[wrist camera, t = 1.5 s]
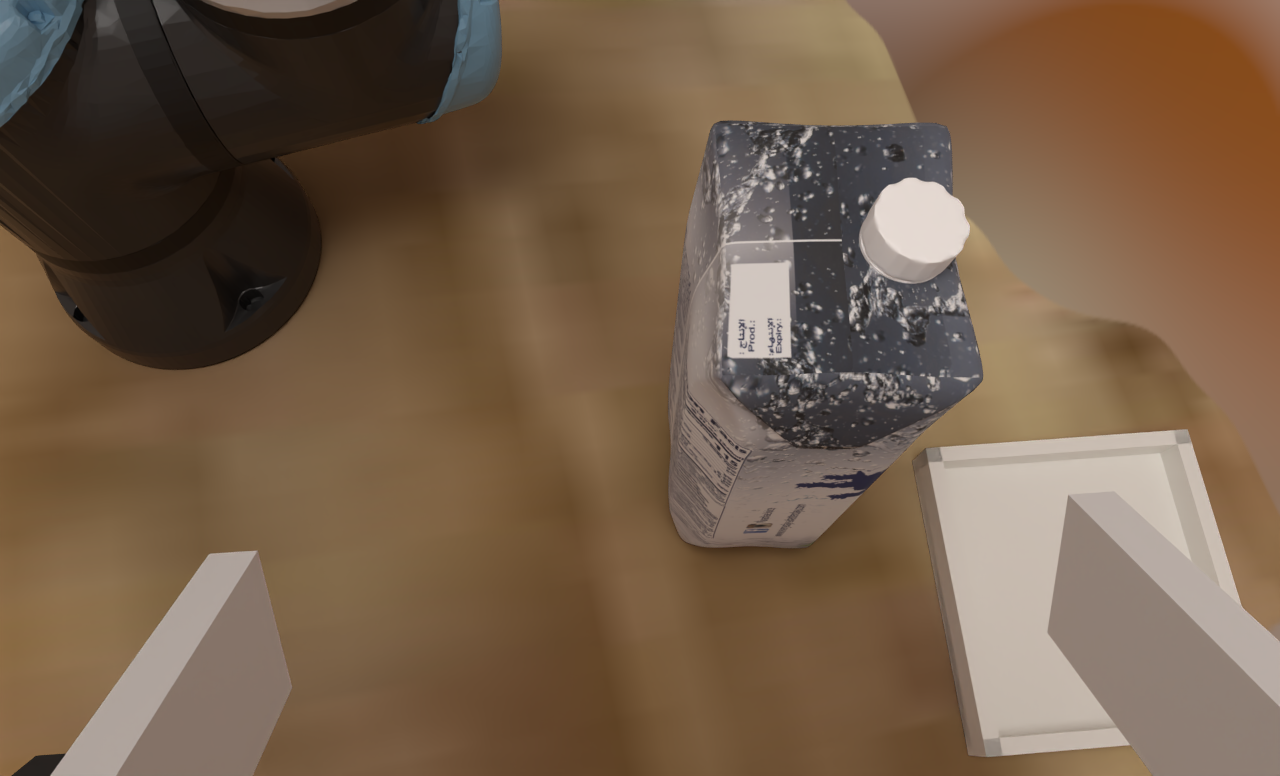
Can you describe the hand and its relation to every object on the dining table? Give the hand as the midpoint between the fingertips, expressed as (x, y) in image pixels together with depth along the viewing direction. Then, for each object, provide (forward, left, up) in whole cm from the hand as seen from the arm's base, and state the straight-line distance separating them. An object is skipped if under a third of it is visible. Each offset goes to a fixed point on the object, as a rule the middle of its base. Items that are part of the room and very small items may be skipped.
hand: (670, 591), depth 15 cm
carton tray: (-3, +23, -34) cm, 42 cm away
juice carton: (-11, +6, -34) cm, 37 cm away
